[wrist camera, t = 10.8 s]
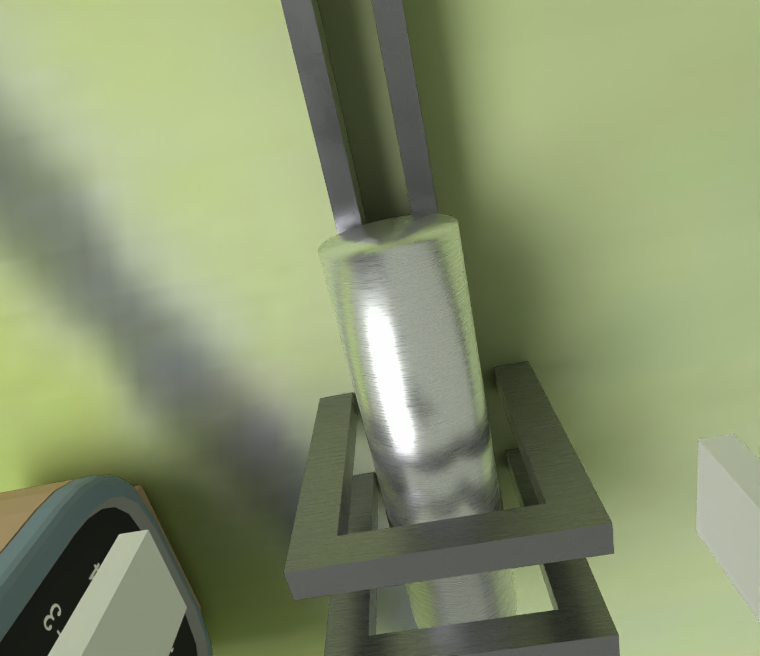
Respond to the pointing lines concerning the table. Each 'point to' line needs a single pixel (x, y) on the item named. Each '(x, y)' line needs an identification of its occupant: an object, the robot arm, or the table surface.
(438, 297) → the tube
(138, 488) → the alarm clock
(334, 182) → the gray metal rack
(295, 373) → the table surface
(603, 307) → the table surface
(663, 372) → the table surface
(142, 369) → the table surface
